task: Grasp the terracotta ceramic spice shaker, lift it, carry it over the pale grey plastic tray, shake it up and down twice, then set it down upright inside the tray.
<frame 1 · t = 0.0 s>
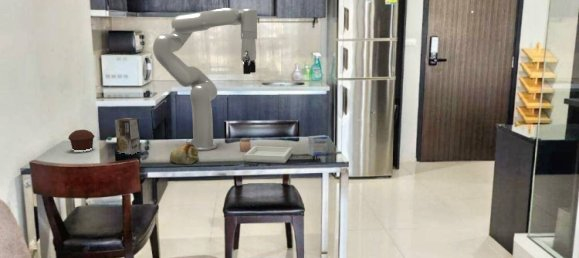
hand: (249, 73, 237), 37 cm above the table, tool pointing down, fingers open, 9 cm apart
shaker: (245, 151, 241), on the table
muffin: (82, 151, 242), on the table
tray: (268, 157, 228), on the table
medicine box: (318, 154, 234), on the table
pastry: (184, 161, 221), on the table
coffee box: (128, 153, 238), on the table
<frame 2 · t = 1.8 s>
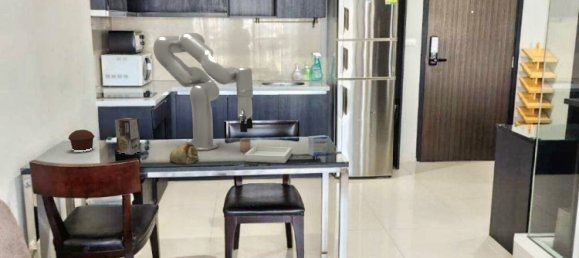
hand: (246, 130, 239), 10 cm above the table, tool pointing down, fingers open, 9 cm apart
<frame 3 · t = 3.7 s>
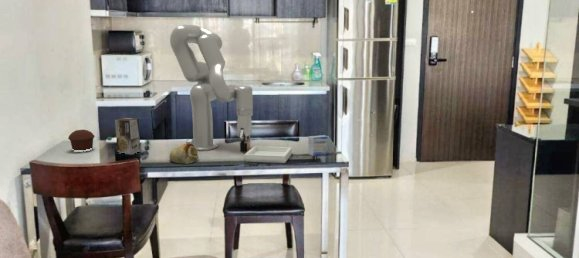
hand: (245, 149, 241), 1 cm above the table, tool pointing down, fingers closed on shaker, 5 cm apart
shaker: (245, 151, 241), on the table, touching gripper
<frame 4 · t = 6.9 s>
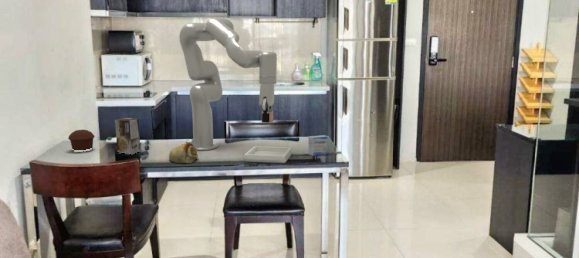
hand: (267, 120, 225), 17 cm above the table, tool pointing down, fingers closed on shaker, 5 cm apart
shaker: (267, 122, 225), point 16 cm above the table, touching gripper
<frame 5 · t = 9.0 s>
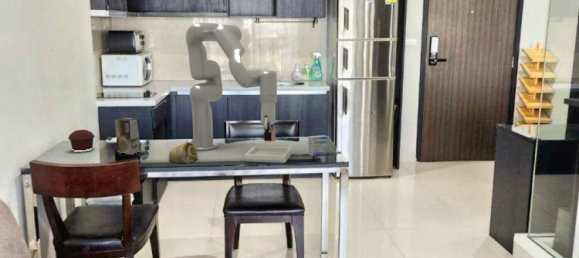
hand: (269, 139, 226), 8 cm above the table, tool pointing down, fingers closed on shaker, 5 cm apart
shaker: (269, 140, 226), point 8 cm above the table, touching gripper
when the fingers open (2 cm above the table, at t = 10.5 s): shaker stays where it is, resting on tray.
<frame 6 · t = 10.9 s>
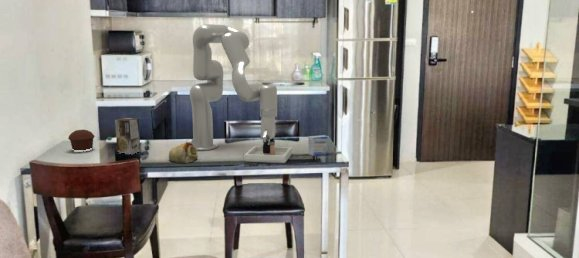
hand: (268, 150, 227), 3 cm above the table, tool pointing down, fingers open, 9 cm apart
shaker: (269, 155, 227), point 1 cm above the table, touching tray
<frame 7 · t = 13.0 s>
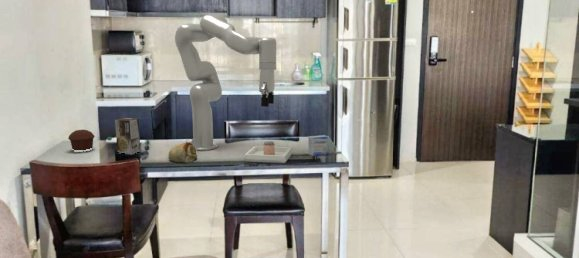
hand: (267, 104, 226), 24 cm above the table, tool pointing down, fingers open, 9 cm apart
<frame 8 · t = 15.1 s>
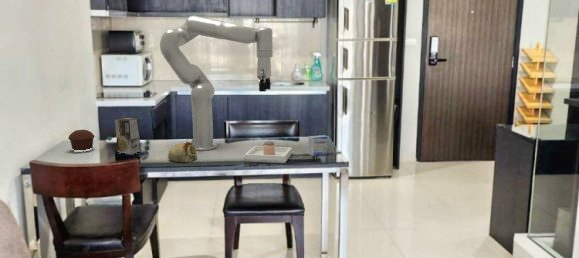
hand: (264, 90, 242), 28 cm above the table, tool pointing down, fingers open, 9 cm apart
at the end: shaker inside the target area on the tray (0.1 cm from its centre), point 1.0 cm above the tray's base; shaker tilted 0°; the gripper is holding nothing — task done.
